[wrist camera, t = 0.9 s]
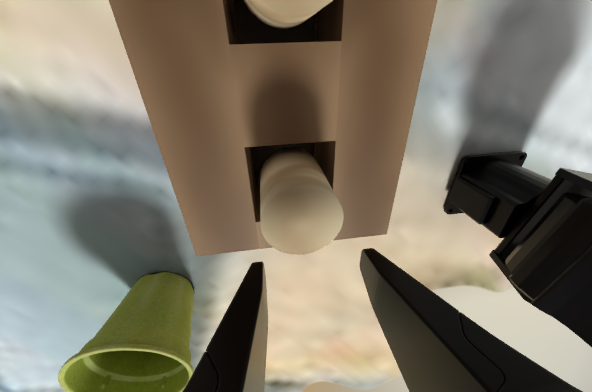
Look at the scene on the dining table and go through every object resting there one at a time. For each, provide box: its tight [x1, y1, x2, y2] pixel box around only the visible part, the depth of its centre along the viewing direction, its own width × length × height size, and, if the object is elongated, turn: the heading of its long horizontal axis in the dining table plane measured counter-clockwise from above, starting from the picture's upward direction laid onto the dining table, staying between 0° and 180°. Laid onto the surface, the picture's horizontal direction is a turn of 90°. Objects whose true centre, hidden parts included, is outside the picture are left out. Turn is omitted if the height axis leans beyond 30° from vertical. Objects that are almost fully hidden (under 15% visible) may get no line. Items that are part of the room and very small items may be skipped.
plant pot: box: [58, 272, 194, 392], centre depth 23 cm, size 9×9×9 cm
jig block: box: [109, 0, 437, 256], centre depth 15 cm, size 14×20×6 cm
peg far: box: [260, 148, 344, 254], centre depth 13 cm, size 4×4×5 cm
